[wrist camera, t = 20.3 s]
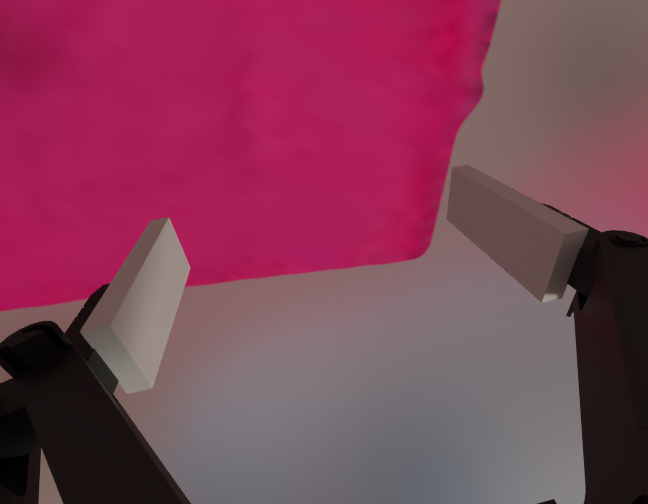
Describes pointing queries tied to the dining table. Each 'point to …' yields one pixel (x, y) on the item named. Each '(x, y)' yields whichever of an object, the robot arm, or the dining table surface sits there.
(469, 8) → the dining table surface
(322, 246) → the dining table surface
